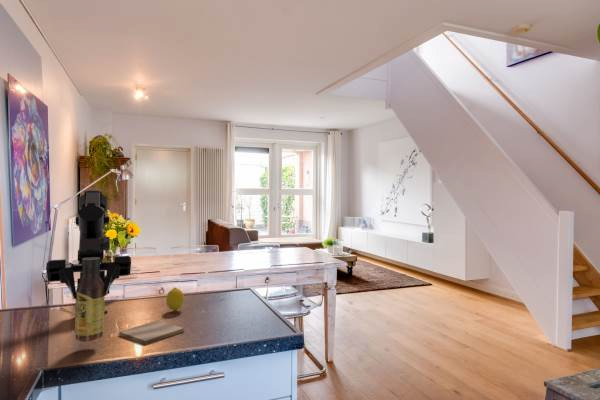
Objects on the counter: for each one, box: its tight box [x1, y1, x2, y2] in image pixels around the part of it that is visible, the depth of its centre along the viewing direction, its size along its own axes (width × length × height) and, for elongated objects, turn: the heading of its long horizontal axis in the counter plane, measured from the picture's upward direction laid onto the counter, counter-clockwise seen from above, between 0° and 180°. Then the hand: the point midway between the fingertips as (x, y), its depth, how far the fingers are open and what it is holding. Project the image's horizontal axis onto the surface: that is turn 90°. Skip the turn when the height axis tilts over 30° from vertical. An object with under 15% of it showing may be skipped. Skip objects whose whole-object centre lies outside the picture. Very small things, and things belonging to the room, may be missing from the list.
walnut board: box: [118, 320, 185, 346], centre depth 103 cm, size 12×12×1 cm
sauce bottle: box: [74, 257, 106, 342], centre depth 92 cm, size 6×6×20 cm
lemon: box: [165, 287, 185, 312], centre depth 125 cm, size 6×6×8 cm
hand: (90, 296), depth 91 cm, fingers closed on sauce bottle, 6 cm apart
